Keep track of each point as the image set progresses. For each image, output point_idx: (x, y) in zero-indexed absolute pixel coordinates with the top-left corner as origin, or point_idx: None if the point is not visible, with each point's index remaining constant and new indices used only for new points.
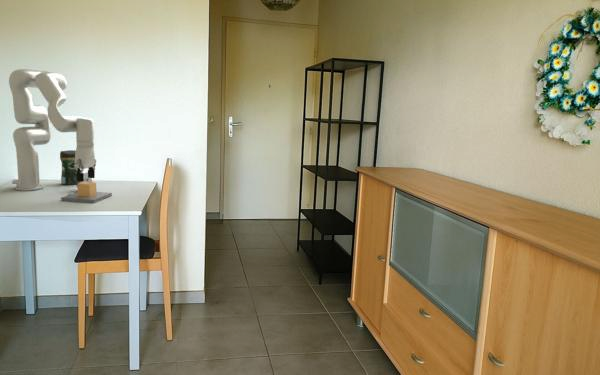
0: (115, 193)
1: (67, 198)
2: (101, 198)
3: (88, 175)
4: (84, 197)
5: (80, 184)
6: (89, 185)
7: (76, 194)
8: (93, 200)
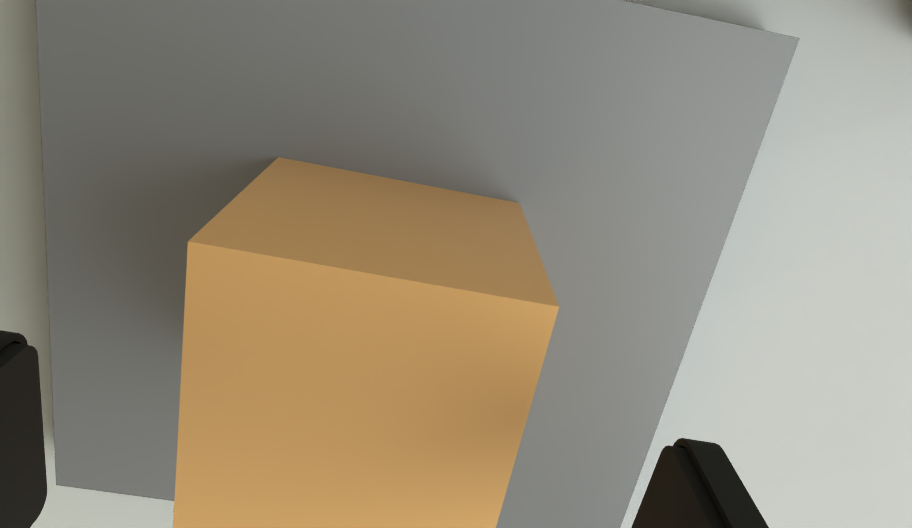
0: (777, 520)
1: (45, 30)
2: None
3: (681, 503)
4: (178, 310)
5: (191, 317)
6: (183, 515)
7: (403, 81)
8: (61, 475)
